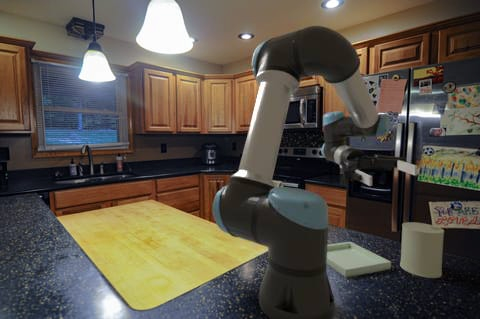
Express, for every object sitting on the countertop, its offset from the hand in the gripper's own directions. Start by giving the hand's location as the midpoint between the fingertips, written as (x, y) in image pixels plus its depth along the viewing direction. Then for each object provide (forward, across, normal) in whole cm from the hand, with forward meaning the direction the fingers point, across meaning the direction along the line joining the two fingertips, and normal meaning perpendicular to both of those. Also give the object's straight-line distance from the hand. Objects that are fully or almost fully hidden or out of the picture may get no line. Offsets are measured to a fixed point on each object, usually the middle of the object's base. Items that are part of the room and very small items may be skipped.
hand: (393, 176), depth 70 cm
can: (+8, -1, -25) cm, 26 cm away
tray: (+1, +16, -22) cm, 27 cm away
